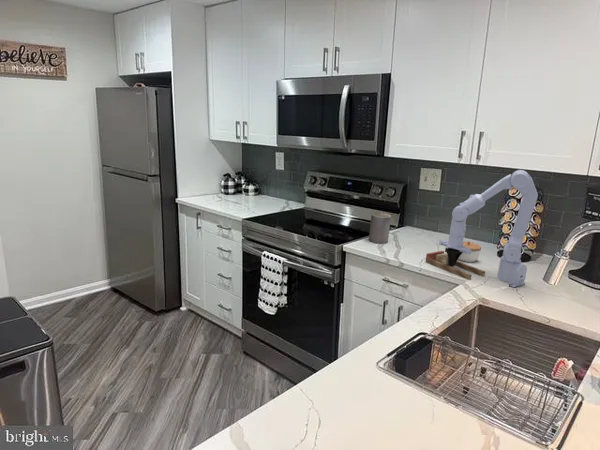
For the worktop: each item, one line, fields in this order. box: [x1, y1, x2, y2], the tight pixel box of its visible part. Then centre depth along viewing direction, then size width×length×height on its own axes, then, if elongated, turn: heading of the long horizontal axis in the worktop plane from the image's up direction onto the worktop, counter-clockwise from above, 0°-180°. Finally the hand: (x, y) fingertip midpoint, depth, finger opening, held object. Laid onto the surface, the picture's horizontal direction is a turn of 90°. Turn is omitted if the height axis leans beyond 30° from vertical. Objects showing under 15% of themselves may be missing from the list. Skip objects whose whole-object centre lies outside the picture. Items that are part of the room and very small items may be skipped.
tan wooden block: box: [436, 252, 449, 266], centre depth 184 cm, size 5×5×4 cm
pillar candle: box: [368, 212, 392, 245], centre depth 215 cm, size 10×10×15 cm
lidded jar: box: [458, 240, 482, 263], centre depth 192 cm, size 11×11×9 cm
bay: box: [425, 250, 486, 281], centre depth 180 cm, size 22×10×5 cm, turn 33°
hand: (451, 265), depth 181 cm, fingers closed
